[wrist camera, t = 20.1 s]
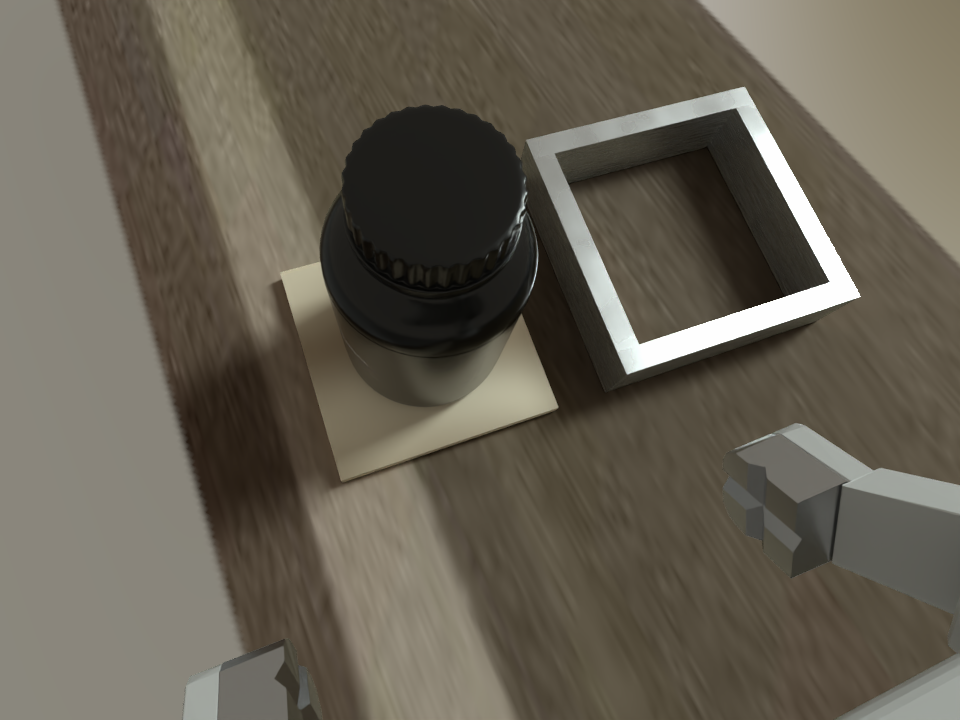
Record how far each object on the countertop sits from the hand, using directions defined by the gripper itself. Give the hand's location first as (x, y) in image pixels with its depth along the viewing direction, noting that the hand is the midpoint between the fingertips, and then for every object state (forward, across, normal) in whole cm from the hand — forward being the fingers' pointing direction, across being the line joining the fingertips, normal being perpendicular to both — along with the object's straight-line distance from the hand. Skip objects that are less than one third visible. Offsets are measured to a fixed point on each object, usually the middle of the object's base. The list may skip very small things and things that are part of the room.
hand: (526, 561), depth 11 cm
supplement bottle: (+17, -2, +4) cm, 17 cm away
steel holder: (+18, -14, +4) cm, 23 cm away
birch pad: (+17, -1, +4) cm, 18 cm away
